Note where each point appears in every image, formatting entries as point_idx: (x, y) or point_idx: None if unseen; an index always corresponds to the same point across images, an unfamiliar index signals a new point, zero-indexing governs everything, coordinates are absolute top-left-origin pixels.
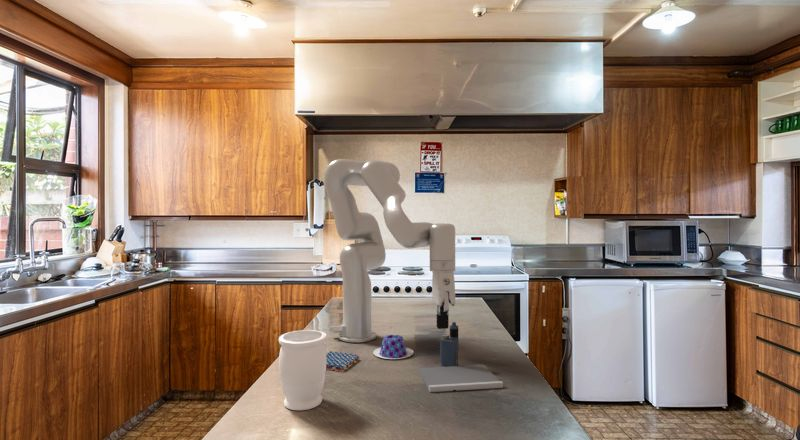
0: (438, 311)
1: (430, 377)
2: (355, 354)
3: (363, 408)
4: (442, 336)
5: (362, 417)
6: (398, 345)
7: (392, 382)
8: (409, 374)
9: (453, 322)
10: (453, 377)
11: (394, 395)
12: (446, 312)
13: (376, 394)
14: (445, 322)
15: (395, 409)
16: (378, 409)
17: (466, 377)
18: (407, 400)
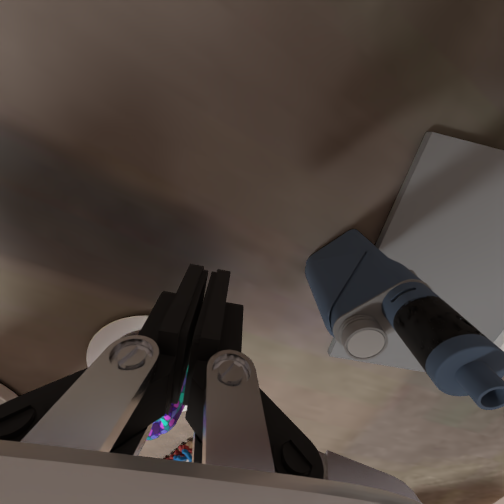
0: (150, 428)
1: (410, 354)
2: (179, 459)
3: (443, 474)
4: (363, 357)
5: (471, 480)
6: (183, 396)
7: (366, 418)
8: (341, 377)
9: (481, 396)
10: (454, 301)
11: (431, 430)
12: (281, 420)
13: (404, 451)
14: (240, 324)
15: (486, 442)
16: (464, 460)
17: (484, 266)
18: (469, 419)
